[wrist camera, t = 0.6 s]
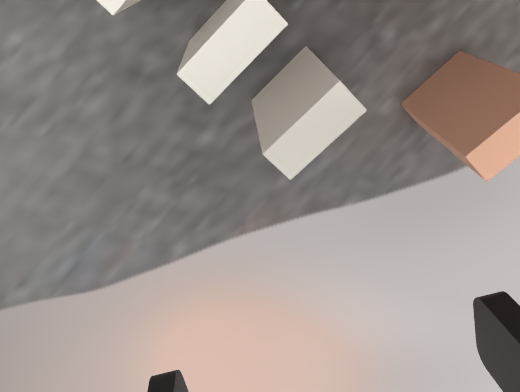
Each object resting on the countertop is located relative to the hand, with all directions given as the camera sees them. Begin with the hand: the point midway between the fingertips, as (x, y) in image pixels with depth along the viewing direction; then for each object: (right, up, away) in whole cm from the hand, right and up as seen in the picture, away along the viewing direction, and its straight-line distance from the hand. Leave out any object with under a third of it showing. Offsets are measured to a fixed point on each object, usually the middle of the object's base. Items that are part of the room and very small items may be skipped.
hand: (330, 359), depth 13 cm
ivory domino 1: (-4, +15, +17) cm, 23 cm away
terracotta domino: (+10, +12, +20) cm, 25 cm away
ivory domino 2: (0, +12, +19) cm, 23 cm away
